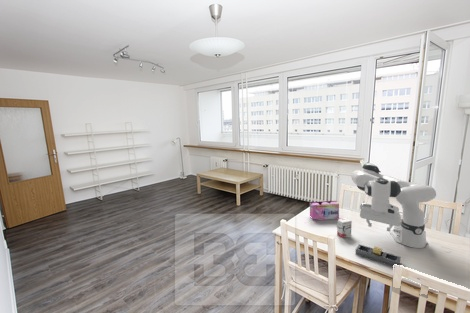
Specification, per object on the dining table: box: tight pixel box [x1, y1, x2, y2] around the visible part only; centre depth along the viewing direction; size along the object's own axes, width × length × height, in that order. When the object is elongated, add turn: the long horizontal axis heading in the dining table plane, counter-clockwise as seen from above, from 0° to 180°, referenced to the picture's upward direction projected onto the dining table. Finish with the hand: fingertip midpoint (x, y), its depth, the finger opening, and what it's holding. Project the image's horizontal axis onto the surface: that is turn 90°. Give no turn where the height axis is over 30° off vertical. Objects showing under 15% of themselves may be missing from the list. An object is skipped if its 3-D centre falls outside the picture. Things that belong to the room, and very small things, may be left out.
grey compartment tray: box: [355, 243, 402, 267], centre depth 134 cm, size 22×7×4 cm, turn 46°
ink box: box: [336, 217, 353, 238], centre depth 161 cm, size 9×5×12 cm, turn 106°
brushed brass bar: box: [372, 246, 383, 256], centre depth 134 cm, size 4×4×6 cm
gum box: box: [309, 200, 340, 220], centre depth 191 cm, size 24×8×14 cm, turn 90°
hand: (378, 228), depth 131 cm, fingers open, 8 cm apart
